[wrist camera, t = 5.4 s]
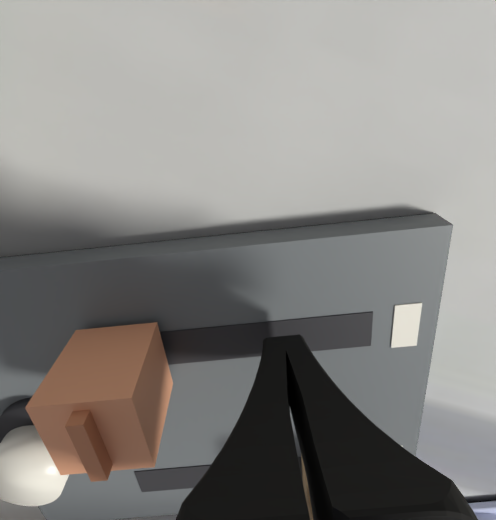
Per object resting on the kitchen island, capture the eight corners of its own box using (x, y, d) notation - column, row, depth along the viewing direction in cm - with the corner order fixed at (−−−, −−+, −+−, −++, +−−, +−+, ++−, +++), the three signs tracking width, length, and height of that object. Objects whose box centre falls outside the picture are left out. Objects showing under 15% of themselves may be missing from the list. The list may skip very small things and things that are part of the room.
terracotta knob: (173, 383, 14) (151, 482, 11) (99, 390, 14) (53, 491, 11) (157, 322, 13) (126, 412, 10) (75, 329, 13) (15, 422, 10)
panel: (400, 472, 20) (414, 507, 18) (59, 501, 20) (44, 537, 19) (435, 213, 13) (462, 231, 12) (-73, 265, 14) (-115, 289, 12)
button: (86, 469, 16) (72, 503, 15) (18, 475, 16) (0, 509, 15) (63, 421, 14) (46, 454, 13) (-10, 428, 15) (-33, 461, 13)
